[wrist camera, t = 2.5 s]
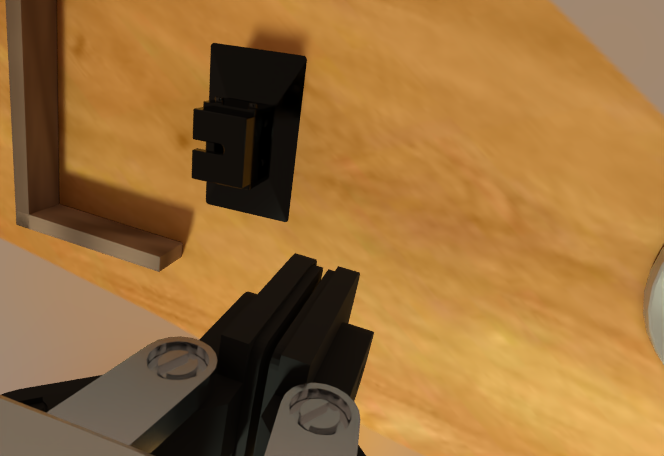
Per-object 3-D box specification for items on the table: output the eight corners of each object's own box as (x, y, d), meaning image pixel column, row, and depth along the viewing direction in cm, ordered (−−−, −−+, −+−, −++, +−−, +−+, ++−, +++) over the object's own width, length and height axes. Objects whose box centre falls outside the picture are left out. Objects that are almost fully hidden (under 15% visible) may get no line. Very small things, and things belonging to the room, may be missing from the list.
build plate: (206, 14, 27) (157, 5, 23) (331, 31, 26) (303, 25, 22) (197, 221, 32) (154, 246, 28) (304, 247, 30) (276, 277, 26)
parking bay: (208, -51, 26) (182, -62, 23) (181, 256, 32) (159, 271, 30) (40, -83, 28) (0, -96, 25) (47, 213, 34) (16, 224, 32)
